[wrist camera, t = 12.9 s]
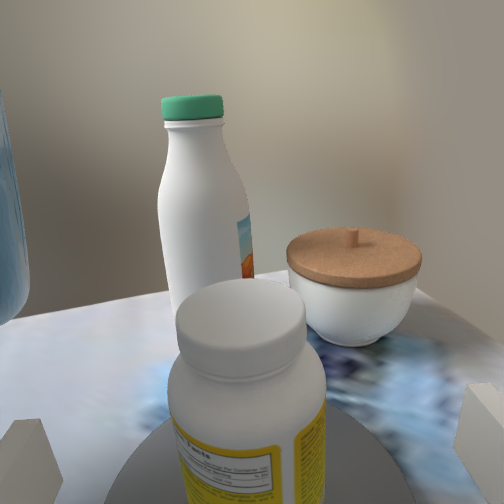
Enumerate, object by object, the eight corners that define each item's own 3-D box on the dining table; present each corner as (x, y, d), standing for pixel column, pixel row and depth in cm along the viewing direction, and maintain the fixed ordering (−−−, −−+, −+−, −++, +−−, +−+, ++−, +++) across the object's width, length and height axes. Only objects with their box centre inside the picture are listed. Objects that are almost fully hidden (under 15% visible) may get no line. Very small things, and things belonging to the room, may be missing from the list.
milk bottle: (231, 357, 30) (205, 92, 22) (158, 336, 33) (114, 99, 26) (269, 310, 36) (260, 91, 28) (205, 296, 39) (181, 97, 32)
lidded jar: (439, 337, 31) (457, 233, 27) (340, 385, 26) (346, 268, 23) (351, 287, 40) (355, 203, 36) (266, 316, 35) (262, 224, 32)
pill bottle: (281, 432, 21) (275, 257, 17) (352, 538, 16) (369, 322, 12) (176, 481, 19) (138, 291, 14) (219, 624, 13) (179, 392, 9)
